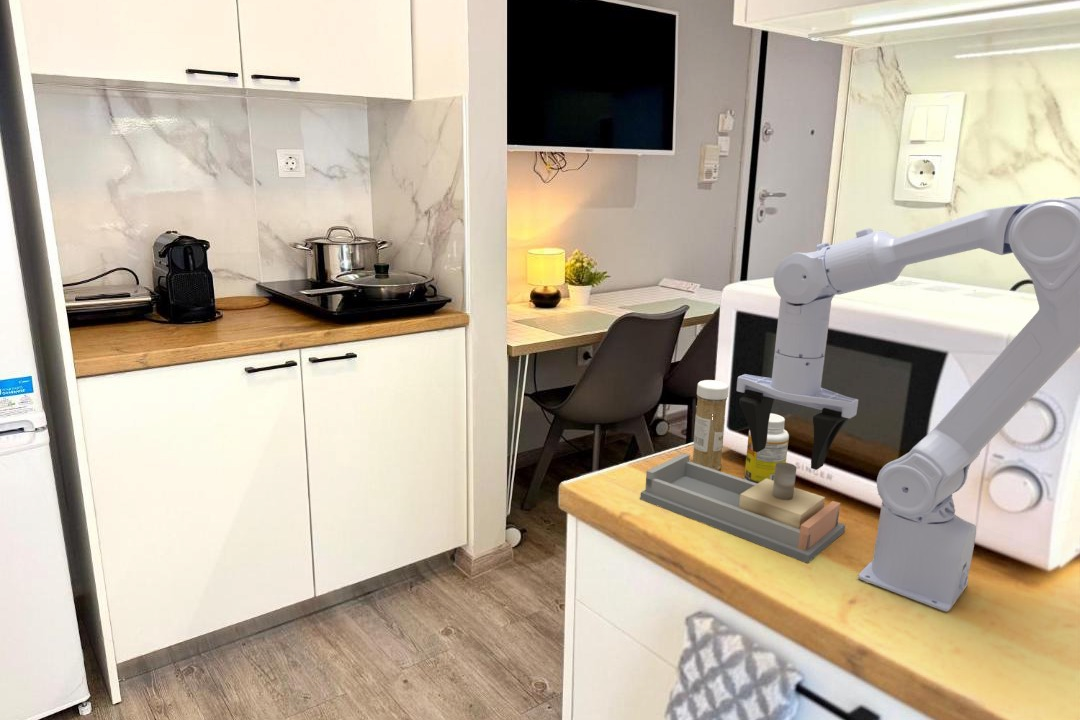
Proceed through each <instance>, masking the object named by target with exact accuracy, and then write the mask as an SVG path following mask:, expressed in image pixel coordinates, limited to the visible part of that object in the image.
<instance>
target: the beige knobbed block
mask: <svg viewBox="0 0 1080 720" xmlns="http://www.w3.org/2000/svg"><path fill="white" fill-rule="evenodd" d="M797 469H798V468H797V466H796V465H795V464H793V463H789V462H786V463H785V462H780V463H777V464H776V466H775V475H774V481H773V480H770V479H767V478H766V479H764V480H763V481H761V482H759V483H758V484H756V485H754V486H753V487H751V488H750V489H748V490H746V491H745V492H743V493H741V494H740V502H739V508H741V509H743V510H746V511H749V512H752V513H755V514H757V515H760V516H763V517H766V518H769V519H771V520H774V521H777V522H780V523H783V524H785V525H788V526H791V527H794V528H797V529H799V530H800V527H801V525H802V524H803V523H804V522H806V521H807V520H808V519H810V518H811V517H812V516H814V515H815V514H816V513H818V512H819V511H820V510H821V509H823V508H824V506H825V499H826V497H825V496H822V495H820V494H817V493H812V492H810V491H806V490H804V489H801V488H797V487H795V484H796V483H795V482H796V475H797Z"/></svg>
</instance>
